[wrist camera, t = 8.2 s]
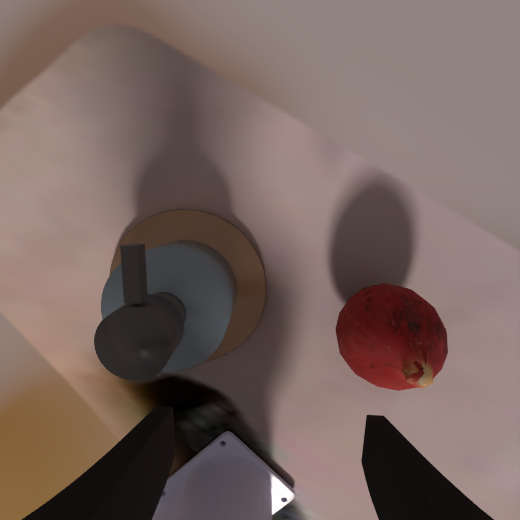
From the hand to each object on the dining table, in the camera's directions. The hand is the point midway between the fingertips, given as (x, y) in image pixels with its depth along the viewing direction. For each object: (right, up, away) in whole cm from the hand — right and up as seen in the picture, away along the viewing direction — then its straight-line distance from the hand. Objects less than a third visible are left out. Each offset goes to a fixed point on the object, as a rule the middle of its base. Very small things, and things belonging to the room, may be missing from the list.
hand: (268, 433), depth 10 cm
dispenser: (-5, +4, +10) cm, 12 cm away
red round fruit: (+7, +3, +10) cm, 13 cm away
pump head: (-6, +5, +4) cm, 8 cm away
